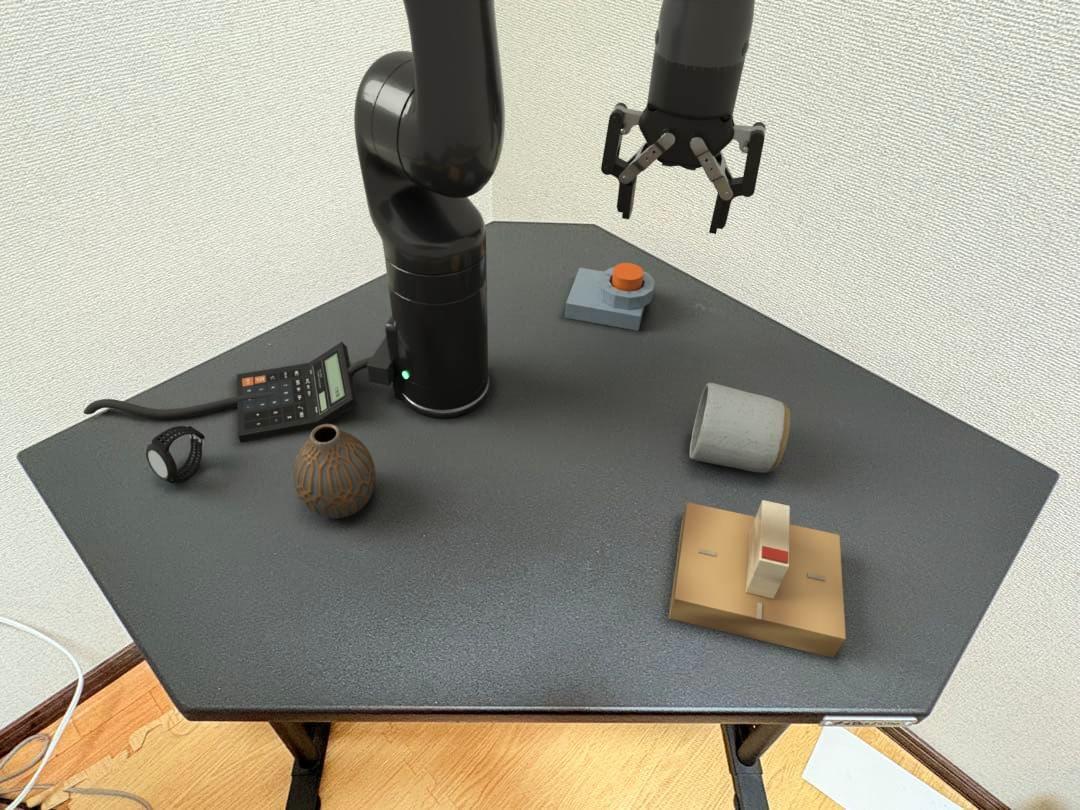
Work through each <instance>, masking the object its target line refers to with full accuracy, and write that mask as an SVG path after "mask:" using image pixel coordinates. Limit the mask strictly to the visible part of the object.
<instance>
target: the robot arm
mask: <svg viewBox="0 0 1080 810" xmlns="http://www.w3.org/2000/svg"><path fill="white" fill-rule="evenodd" d="M402 2H403V6H404V11H405V16H406V19H407V26H408V31H409V36H410V46H411V47H410V48H411V51H409V50H396V51H391V52H388V53H385V54H384V55H382V56H380V57H378V58H376V60H374V61H373V62H372V64H371V65H370V66H369V67H368V68H367V70H366V71H365V73H364V75H363V76H362V79H361V80H360V83H359V85H358V88H357V91H356V96H355V102H354V111H353V112H354V113H353V125H354V126H353V128H354V136H355V145H356V151H357V157H358V162H359V168H360V173H361V178H362V183H363V187H364V194H365V199H366V203H367V204H366V205H367V209H368V213H369V216H370V219H371V222H372V224H373V226H374V228H375V229H376V231H377V233H378V235H379V237H380V239H381V242H382V249H383V254H384V255H383V256H384V263H385V270H386V271H385V272H386V278H387V285H388V286H387V287H388V294H389V301H390V309H391V315H390V316H389V318H388V320H387V321H386V323H385V326H384V331H385V337H384V338H383V340H382V342H381V343H380V345H379V346H378V347H377V349H376V350H375V352H374V354H373V355H371V356H368V357H366V358H363V359H360V360H358V361H356V362H355V363H353V364H350V367H349V368H348V372H349V374H350V375H351V376H353V377H354V376H355V374H357V373H358V372H360V371H362V370H364V369H367V373H368V375H367V376H368V380H369V383H371V384H375V385H376V384H377V385H381V386H386V387H391V385H392V389H393V396H394V398H395V399H398V400H402V401H403V402H404V404H406V405H407V406H408V407H409V408H410V409H411V410H413V411H415V412H416V413H418V414H421V415H424V416H427V417H431V418H441V419H444V418H454V417H459V416H463V415H466V414H468V413H470V412H472V411H474V410H476V409H477V408H478V407H479V406H480V405H481V404H483V403H484V402H485V400H486V399H487V397H488V395H489V391H490V375H489V373H490V371H489V335H488V334H489V331H488V330H489V329H488V327H489V325H488V323H489V322H488V275H487V274H488V273H487V272H488V269H487V267H488V266H487V229H486V222H485V219H484V217H483V215H482V214H481V212H480V210H479V209H478V208H477V206H476V205H475V204H474V203H473V202H472V201H471V199H470V198H469V197H472V196H474V195H476V194H477V193H479V192H480V191H482V189H483V188H484V187H485V186H487V184H488V183H489V182H490V180H491V179H492V177H493V175H494V174H495V172H496V169H497V167H498V165H499V162H500V159H501V156H502V151H503V147H504V140H505V132H506V105H505V94H504V83H503V73H502V65H501V56H500V47H499V37H498V29H497V19H496V17H497V16H496V10H495V0H402ZM755 3H756V0H662V3H661V7H660V11H659V16H658V22H657V28H656V30H655V33H654V51H653V58H652V64H651V73H650V79H649V87H648V94H647V102H646V106H645V108H644V109H643V111H641V110H637V109H633V108H632V109H631V108H628V106H627V104H625V103H624V102H618V103H616V104H615V106H614V108H613V109H612V111H611V112H610V114H609V117H608V123H607V128H606V129H607V130H606V134H605V142H604V148H603V153H602V160H601V166H600V171H601V173H602V174H603V175H604V176H605V175H606V176H610V175H611V176H612V177H614V178H616V179H617V181H618V184H619V185H618V193H617V199H616V200H617V201H616V210H617V213H621V219H624V220H630V218H631V216H632V213H633V208H634V202H635V195H636V188H637V181H638V176H639V175H640V174H641V173H642V172H644V171H645V170H647V169H648V168H649V167H650V166H651V165H652V164H653V163H654V162H655V161H656V160H657V161H658V162H659V163H660V164H661V166H663V167H669V168H671V167H681V168H683V169H685V170H688V171H693V172H694V171H696V170H697V169H701V168H702V169H703V171H704V173H705V175H706V177H707V179H708V180H709V182H710V183H712V184H713V187H714V188H715V190H716V192H717V195H716V198H715V205H714V208H713V212H712V216H711V222H710V226H709V231H708V233H709V234H713V235H717V231H718V229H719V230H723V229H724V228H725V227H726V225H727V221H728V217H729V214H730V213H729V212H730V208H731V205H732V202H733V200H734V199H735V198H737V197H742V196H743V197H744V198H751V197H752V196H753V195H754V194H755V190H756V186H757V180H758V175H759V171H760V165H761V159H762V154H763V149H764V143H765V139H766V138H765V137H766V130H767V128H766V127H767V126H766V124H765V123H763V122H761V121H757V122H755V123H753V124H752V126H751V125H739V124H735V121H734V111H735V106H736V102H737V97H738V93H739V89H740V84H741V80H742V74H743V71H744V65H745V62H746V61H745V60H746V57H747V53H748V51H749V47H750V38H751V34H752V29H753V23H754V16H755V14H754V13H755V5H756V4H755ZM635 126H638V128H639V130H640V132H641V135H642V136H643V138H644V140H645V142H644V143H643V144H642V145H641V146H640V147H639V149H638V150H637V151H636V152H635V153H634V154H633V155H632V156H630V158H629V159H628V160H627V161H626V160H625V159H623V158H621V157H620V153H621V147H622V142H623V136H626V135H629V133H631V131H632V128H633V127H635ZM733 140H734V141H736V142H737V143H738V149H739V150H740V152H741V153H743V154H746V159H745V164H744V165H745V166H744V169H743V175H742V176H738V177H734V176H733V174H732V172H731V170H730V168H729V166H728V164H727V160H726V158H725V156H724V153H723V150H724V149H725V148H726V147H727V146H728V145H729V144H730V143H732V141H733ZM280 394H281V393H277V392H263V393H254V394H248V395H242V396H237V395H236V396H233V397H228V398H224V399H220V400H216V401H211V402H207V403H203V404H198V405H192V406H186V407H178V408H168V409H166V408H165V409H161V408H152V407H151V408H150V407H146V406H141V405H137V404H135V403H130V402H126V401H123V400H119V399H113V398H102V399H97V400H94V401H92V402H90V403H89V404H88V405H87V406H86V407H85V409H84V410H83V414H84V415H92V414H94V413H96V412H97V411H98V410H99V411H100V410H101V409H113V410H117V411H118V410H119V411H121V412H125V413H130V414H132V415H136V416H140V417H144V418H145V417H146V418H151V419H178V418H187V417H192V416H198V415H202V414H207V413H211V412H215V411H220V410H224V409H228V408H232V407H236V406H237V402H239V401H244V400H250V399H257V398H265V397H271V396H277V395H280ZM237 407H238V406H237Z"/></svg>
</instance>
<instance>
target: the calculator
mask: <svg viewBox="0 0 1080 810" xmlns="http://www.w3.org/2000/svg"><path fill="white" fill-rule="evenodd" d="M350 361H351V360H350V355H349V351H348V346H347V345H346V344H345V343H344V342H343V341H341V342H339V343H337V344H336V345H334V346H333V347H331V348H329V349H328V350H326V351H325V352H324V353H322V354H320V355H318V356H317V357H316V358H314V359H312V360H311V361H310V362H306V363H299V364H294V365H287V366H281V367H275V368H267V369H262V370H256V371H249V372H244V373H237V374H236V397H237V396H242V395H248V394H254V393H263V392H277V393H281V394H280V395H277V396H271V397H265V398H257V399H250V400H244V401H239V402H237V437H238V440H239V442H240V443H243V442H250V441H254V440H259V439H265V438H271V437H276V436H281V435H287V434H292V433H298V432H304V431H309V430H314V429H315V428H316V427H317V426H320V425H323V424H328V423H329V422H331V421H332V420H334V419H335V418H337V417H339V416H340V415H342V414H344V413H345V412H347V411H349V410H351V409H352V408H353V407H355V406H357V405H358V404H359V402H358V398H357V393H356V388H355V387H356V386H355V383H354V376H351V375H350V374H349V372H348V368H349V367H350V366H351V362H350Z"/></svg>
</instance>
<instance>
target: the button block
mask: <svg viewBox="0 0 1080 810" xmlns="http://www.w3.org/2000/svg"><path fill="white" fill-rule="evenodd" d="M614 267H615V266H613V267H609V268H608V269H606V270H604V271H602V270H596V269H591V268H585V267H579V268H578V271H577V273H576V276H575V279H574V281H573V284H572V286H571V289H570V292H569V294H568V297H567V299H566V302H565V308H564V309H565V310H564V318H565V319H570V320H575V321H576V320H577V321H581V322H588V323H592V324H598V325H603V326H609V327H614V328H618V329H619V328H620V329H625V330H631V331H637V332H638V331H640V326H641V322H642V318H643V314H644V311H645V307H646V306H647V305H649V304H651V302H652V299H653V296H654V290H655V285H656V282H655V280H654V278H653V277H652V276H651V274H650V273H649V272H646V271H644V270H643V272H644V274H643V281H642V286H641V288H640V289H639V290H637V291H631V292H628V291H623V290H618V289H617V288H615V287H614V286H613V285H612V276H613V269H614Z"/></svg>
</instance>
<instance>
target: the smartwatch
mask: <svg viewBox="0 0 1080 810" xmlns="http://www.w3.org/2000/svg"><path fill="white" fill-rule="evenodd" d="M186 435H189V438H190V439H189V440H190V441H189V442H190V449H189V454H188V456H187V459H186V460H185V462H184V463H183V464H182V465H181V466H180V467H179V468H178V465H177V464H176V461H175V458H174V456H173V455H172V453H171V452H170V448H171V446H172V444H173V443H174V442H175V441H176V440H178V439H179V438H181V437H183V436H186ZM205 438H206V436H205V435H204V433H202V432H201V431H199V430H198V429H196V428H195V427H193V426H191V425H189V426H186V425H176V426H175V425H174V426H171V427H170V428H168V429H165V430H163V431H162V432H160V433H159V434H157V435H156V436H155V437H153V439H152V440H151V443H150V444H148V445H147V447H146V451H145V459H146V461H147V463H148V465H149V467H150V469H151V470H152V472H153V473H154V474H155V476H157V477H158V478H159V479H160V480H162V481H166V482H168V483H169V484H177V483H180V482H182V481H184V480H186V479H188V478H190V477H191V476H193V475H194V474H195V473H196V472H197V470H198V469H199V467H200V465H201V461H202V458H203V449H204V448H205V447H206V443H205V442H206V439H205Z"/></svg>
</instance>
